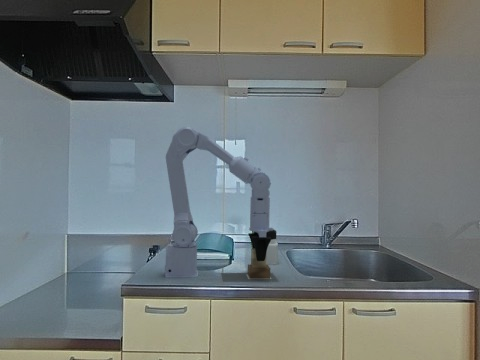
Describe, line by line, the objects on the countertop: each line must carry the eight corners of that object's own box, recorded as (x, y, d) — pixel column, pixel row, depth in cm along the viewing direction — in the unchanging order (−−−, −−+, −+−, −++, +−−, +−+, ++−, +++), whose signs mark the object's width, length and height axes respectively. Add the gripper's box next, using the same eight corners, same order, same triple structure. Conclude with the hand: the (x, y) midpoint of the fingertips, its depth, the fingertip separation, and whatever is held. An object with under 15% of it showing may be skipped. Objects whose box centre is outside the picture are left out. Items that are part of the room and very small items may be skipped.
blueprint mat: (222, 282, 133) (222, 281, 133) (220, 274, 145) (220, 272, 145) (279, 282, 134) (279, 281, 134) (272, 274, 146) (272, 273, 146)
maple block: (252, 267, 138) (253, 250, 138) (251, 265, 142) (251, 248, 142) (266, 267, 139) (266, 250, 139) (264, 265, 143) (264, 248, 143)
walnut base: (249, 278, 137) (249, 268, 137) (247, 274, 143) (247, 264, 143) (270, 278, 138) (270, 268, 138) (267, 274, 144) (267, 264, 144)
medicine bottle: (277, 262, 167) (278, 228, 167) (277, 265, 160) (277, 230, 160) (257, 261, 168) (258, 227, 168) (256, 265, 161) (256, 229, 161)
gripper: (277, 215, 134) (276, 263, 134) (269, 211, 148) (268, 254, 148) (252, 214, 133) (251, 263, 133) (247, 211, 147) (246, 254, 148)
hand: (258, 258), depth 141 cm, fingers open, 7 cm apart
